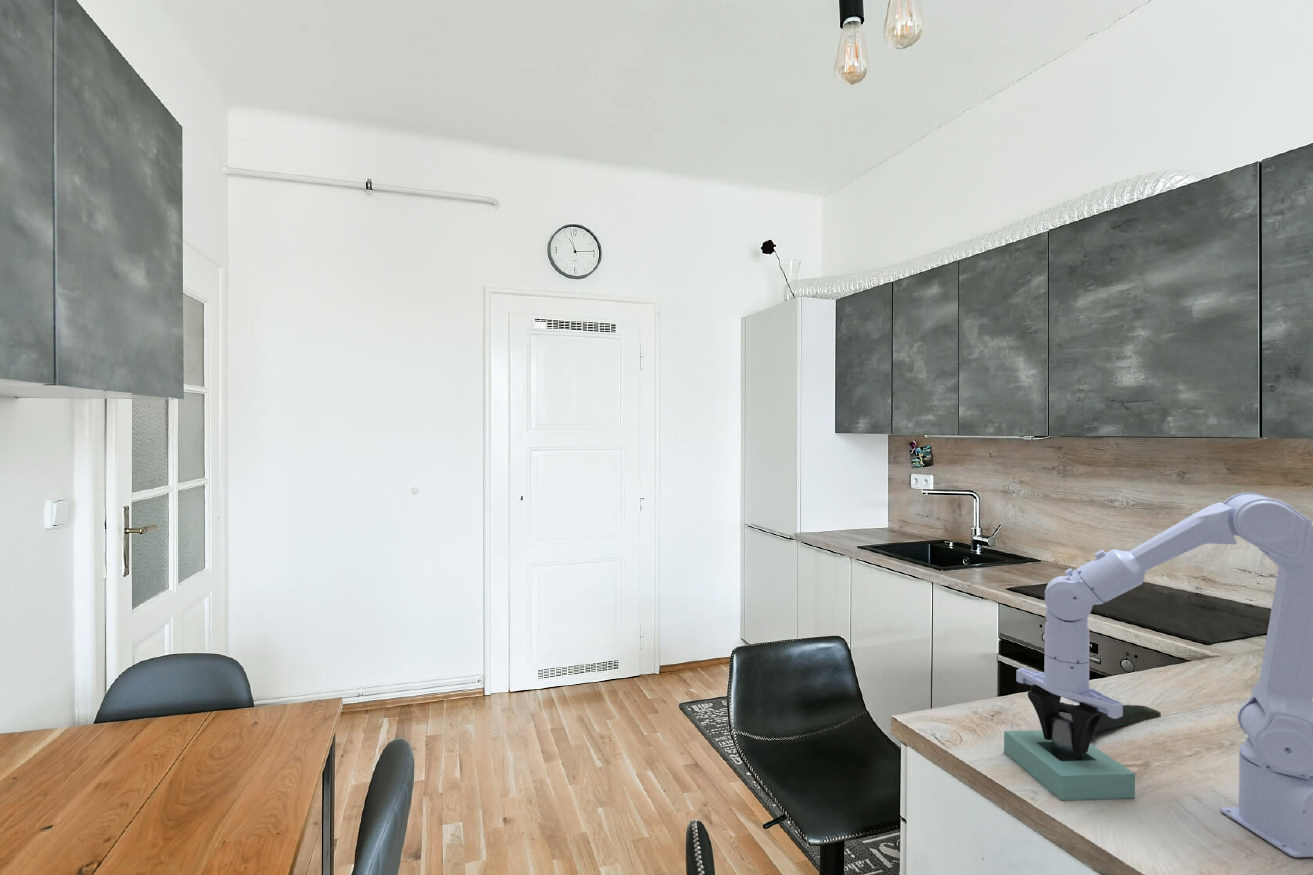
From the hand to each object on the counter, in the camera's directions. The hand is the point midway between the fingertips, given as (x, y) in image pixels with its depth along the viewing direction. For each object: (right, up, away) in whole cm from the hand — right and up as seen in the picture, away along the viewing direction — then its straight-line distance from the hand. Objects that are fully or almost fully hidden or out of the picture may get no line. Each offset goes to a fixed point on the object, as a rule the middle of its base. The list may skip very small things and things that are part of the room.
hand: (1065, 745), depth 94 cm
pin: (0, -3, 0) cm, 3 cm away
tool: (+18, -5, +16) cm, 24 cm away
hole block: (0, -4, 0) cm, 4 cm away
